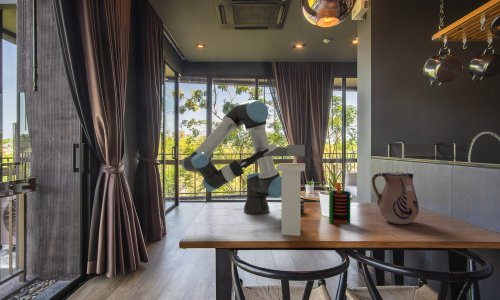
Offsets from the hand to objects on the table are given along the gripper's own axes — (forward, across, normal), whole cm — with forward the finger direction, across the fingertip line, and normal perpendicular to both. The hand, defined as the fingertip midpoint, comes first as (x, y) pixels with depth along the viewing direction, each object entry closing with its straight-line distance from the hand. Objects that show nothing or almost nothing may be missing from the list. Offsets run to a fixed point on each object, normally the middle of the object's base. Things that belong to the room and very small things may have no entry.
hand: (275, 145), depth 133 cm
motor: (+7, -17, -49) cm, 52 cm away
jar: (-12, -36, -38) cm, 54 cm away
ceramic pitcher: (+31, -22, -63) cm, 74 cm away
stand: (-13, +3, -37) cm, 39 cm away
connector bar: (0, 0, -5) cm, 5 cm away
